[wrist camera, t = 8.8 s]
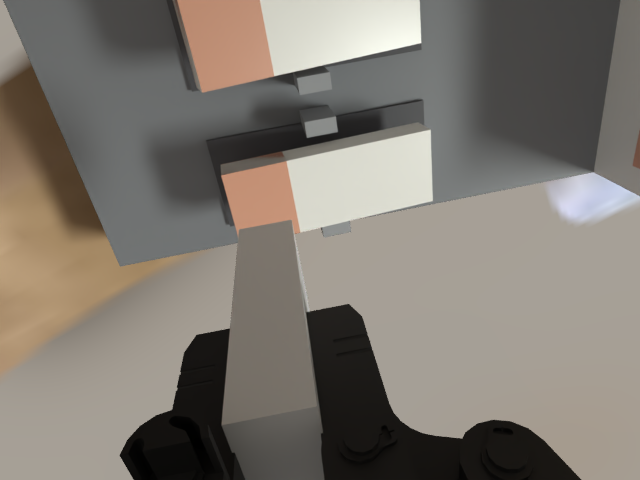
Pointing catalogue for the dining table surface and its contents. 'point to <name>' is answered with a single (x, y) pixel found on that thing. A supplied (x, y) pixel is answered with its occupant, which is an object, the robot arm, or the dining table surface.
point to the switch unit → (333, 106)
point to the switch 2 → (332, 180)
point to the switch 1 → (288, 35)
